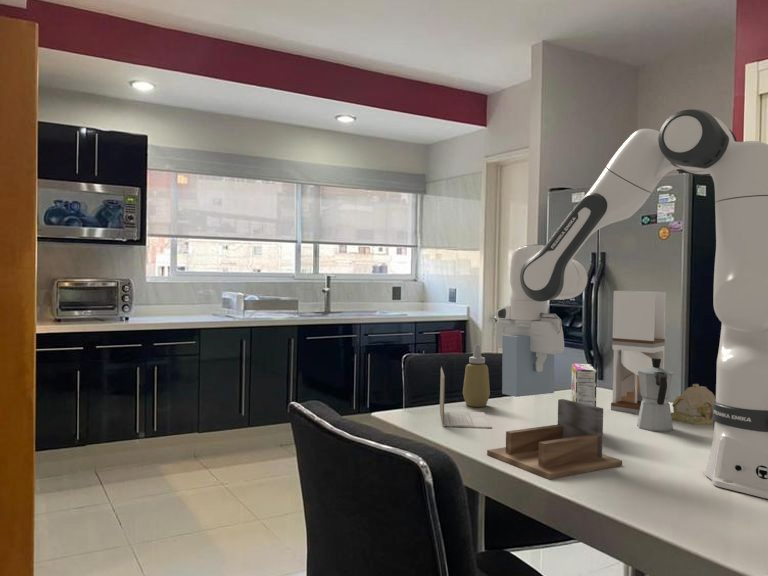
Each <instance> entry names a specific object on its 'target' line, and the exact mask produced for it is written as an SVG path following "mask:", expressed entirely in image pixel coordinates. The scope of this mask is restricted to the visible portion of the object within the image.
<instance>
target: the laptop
mask: <svg viewBox="0 0 768 576" xmlns="http://www.w3.org/2000/svg"><path fill="white" fill-rule="evenodd" d="M444 373H445V372H444V370H443V367H442V366H440V381H439V382H440V384H439V386H440V387H439V388H440V389H439V390H440V391H439V394H440V395H439V413H440V417H441V418H440V419H441V425H442V428H445V427H447V428H466V429H493V427H492V425H491V423H490V421H489V419H488V417H487V416H486V413H485V412H484V411H460V410H445V391H446V390H445V388H446V387H445V386H446V385H445V384H446V382H445V381H446V380H445V379H446V376H445V374H444Z"/></svg>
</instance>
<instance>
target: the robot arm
mask: <svg viewBox="0 0 768 576" xmlns="http://www.w3.org/2000/svg"><path fill="white" fill-rule="evenodd" d="M674 170H676V171H677V172H680V173H685V174H691V175H694V176H698V177H699V176H700V177H709V176H710V177H711V178H712V181H713V185H714V203H715V204H714V207H715V208H714V209H715V210H714V212H715V215H714V216H715V240H716V241H715V256H714V267H713V268H714V271H713V294H712V295H713V296H712V297H713V304H712V305H713V310H714V313H715V316H716V317H717V318H718V320H719V322H721V327H720V328H721V329H720V337H719V346H718V351H717V352H718V353H717V358H716V380H715V381H716V384H715V398H716V401H714V402H713V424H712V427H713V433H712V434H713V435H712V436H713V437H712V443H711V449H710V453H709V456H708V461H707V464H706V466H705V469H704V472H703V474H704V475H705V476H706V477H707V478H709V479H710V480H711V483H712V485H714V486H715V487H719V488H723V489H727V490H731V491H734V492H740V493H743V494H746V495H751V496H755V497H759V498H762V499H767V500H768V144H767V143H766V142H761V141H756V140H748V141H747V140H746V141H738V140H737V137H736V135H735V134H734V132H733V131H732V130H731V129H730V128H728V127H727V126H726V124H725V123H724V122H723V121H722V120H721V119H720V118H718V117H716V116H714V115H712V114H711V113H709V112H708V111H705V110H701V109H696V108H688V109H684V110H680V111H679V110H678V111H677V112H675V113H674V114H672V115H670V116H669V117H668V118H667V119H666V120H665V122H664V123H663V124H662V126H661V127H660V130H659V131H658V130H656V129H652V128H640V129H638V130H635V131H634V132H633V133H632V134H630V135H629V137H627V139H625V141H623V143H622V145H621V146H620V147H619V148H618V149H617V150H616V152H615V153H614V155H613V156H612V157H611V158H610V159H609V161H608V162H607V164H606V166H605V167H604V168H603V170H602V172H601V174H600V175H599V176H598V178H597V179H596V181H595V182H594V183H593V184H592V186H591V187H590V188H589V190H588V191H587V193H586V194H585V195H584V196H583V197H582V198H581V200H579V202H578V203H577V204H576V205H575V206H574V207H573V208H572V210H571V211H570V212H569V214H568V215H567V216H566V217H565V219H564V220H563V221H562V223H561V224H560V225H559V226H558V228H557V229H556V231H554V233H553V235H551V237H550V239H549V240H548V241H547V243H546V244H545V245H543V244H538V243H537V244H526V245H523V246H520V247H518V248H516V249H514V251H513V253H512V256H511V259H510V269H509V270H510V271H509V272H510V273H509V284H510V287H511V294H510V297H509V304H507V305H506V306H504V307H501V308H499V309H497V310H496V311H495V317H496V319H497V321H496V324H495V344H496V346H497V347H498V348H501V349H502V335H523V336H530V351H531V352H536V357H538V358H537V361H536V364H533V371H537V372H542V371H543V363H544V362H545V360H546V358H547V354H554V355H561V354H563V352H564V351H565V338H564V337H565V336H564V331H563V325H562V319H561V318H560V317H559V316H558V315H557V314H556V313H548V301H553V300H554V301H555V300H556V301H557V300H559V301H560V300H570V299H573V298H576V297H578V296H580V295H582V294H583V293H584V291H585V289H586V288H587V285H588V281H589V276H588V275H589V274H588V272H587V269H586V268H585V266H584V265H583V263H581V262H580V261H579V260H576V259H575V256H576V255H577V254H578V252H579V251H580V250H581V248H582V247H583V246H584V245H585V243H586V242H588V241H587V240H588V239H590V237H591V236H592V235H593V234H594V233H597V231H598V230H600V229H601V228H604V227H606V226H608V225H611V224H614V223H618V222H621V221H625V220H627V219H629V218H631V217H633V216H634V215H635V214H636V212H638V211H639V210H640V208H642V206H644V204H645V203H646V202H647V200H648V199H649V197H650V196H651V194H652V193H653V192H654V190H655V189H656V187H657V185H658V184H659V183H660V182H661V180H662V179H663V178H664V177H665V175H666V174H668V173H670V172H672V171H674Z"/></svg>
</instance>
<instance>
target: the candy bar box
mask: <svg viewBox="0 0 768 576" xmlns="http://www.w3.org/2000/svg"><path fill="white" fill-rule="evenodd" d="M597 372H598V371H597V370H596V368H594V367H593V365H592V364H590V363H572V364H571V400H570V401H574V402H578V403H582V404H586V405H591V406H595V407H597V374H598V373H597Z"/></svg>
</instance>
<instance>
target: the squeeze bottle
mask: <svg viewBox="0 0 768 576" xmlns="http://www.w3.org/2000/svg"><path fill="white" fill-rule="evenodd" d="M468 360H469V361H468V362H469V363H468V364H466V365H465V368H464V369H465V371H464V379H463V387H462V395H463V399H464V403H465V405H466V406H468V407H472V408H483V407H486V406H487V403H488V401H489V398H490V395H491V390H490V389H491V388H490V375H489V367H488V365H487V364H485V363H486V357H484V356H482V351H481V347H480V344H475V345H474V349H473V354H472V356H469V358H468Z"/></svg>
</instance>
